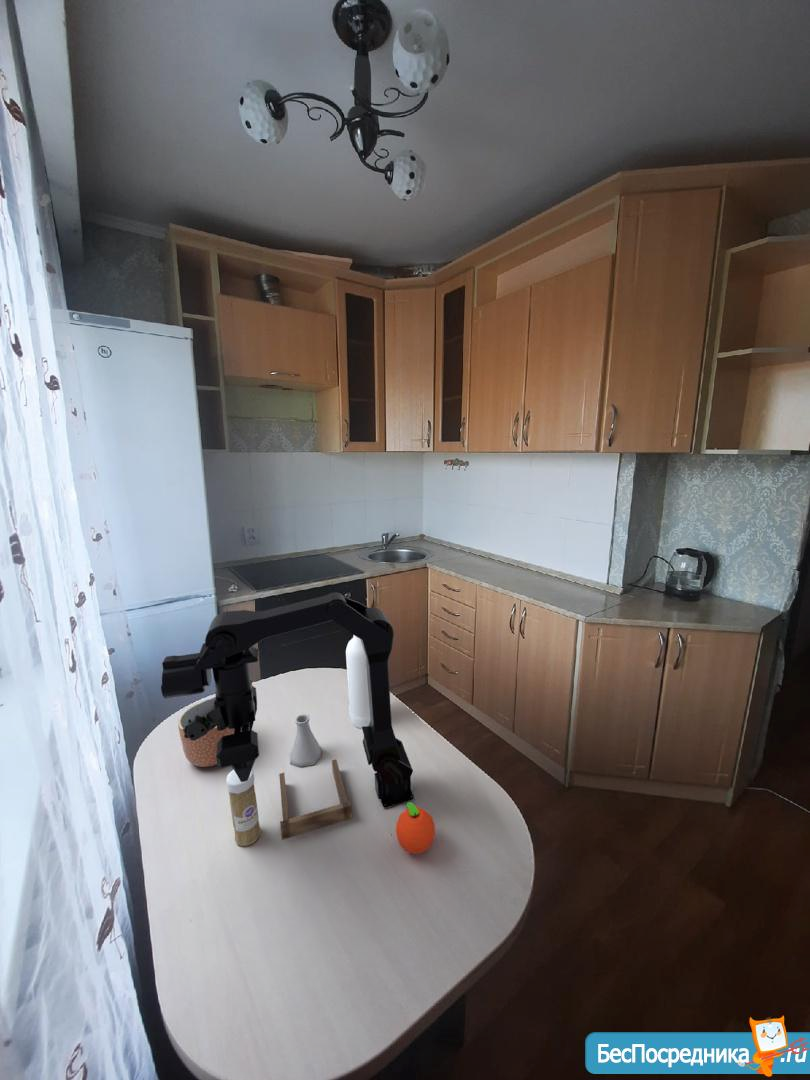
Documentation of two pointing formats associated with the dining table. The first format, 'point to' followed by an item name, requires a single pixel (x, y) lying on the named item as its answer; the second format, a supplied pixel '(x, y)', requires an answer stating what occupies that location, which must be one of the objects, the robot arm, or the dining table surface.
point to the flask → (304, 744)
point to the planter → (202, 744)
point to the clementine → (415, 829)
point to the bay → (318, 817)
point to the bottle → (357, 684)
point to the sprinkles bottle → (243, 808)
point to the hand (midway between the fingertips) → (244, 762)
